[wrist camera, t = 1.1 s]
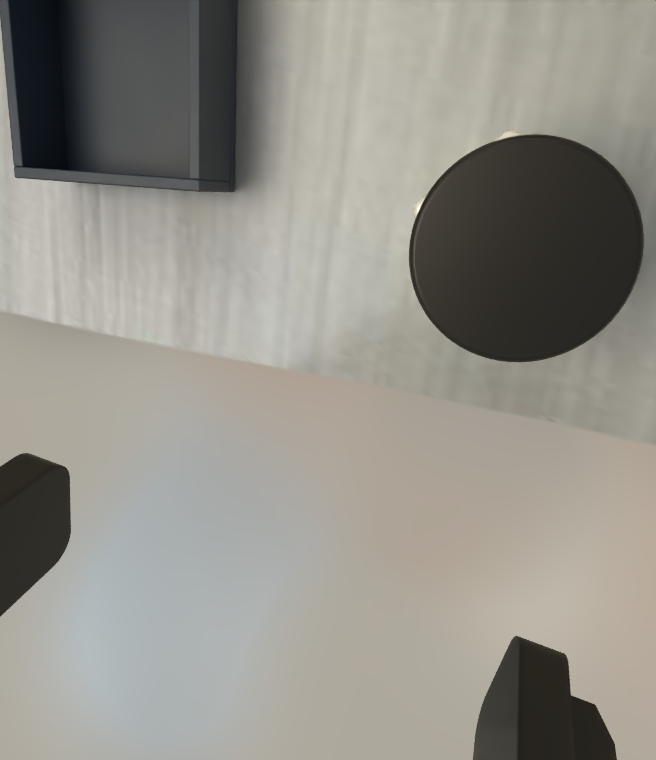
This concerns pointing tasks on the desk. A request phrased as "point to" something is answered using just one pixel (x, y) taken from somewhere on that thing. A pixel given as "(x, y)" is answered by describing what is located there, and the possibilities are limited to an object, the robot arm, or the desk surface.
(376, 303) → the desk surface
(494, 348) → the jar
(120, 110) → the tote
